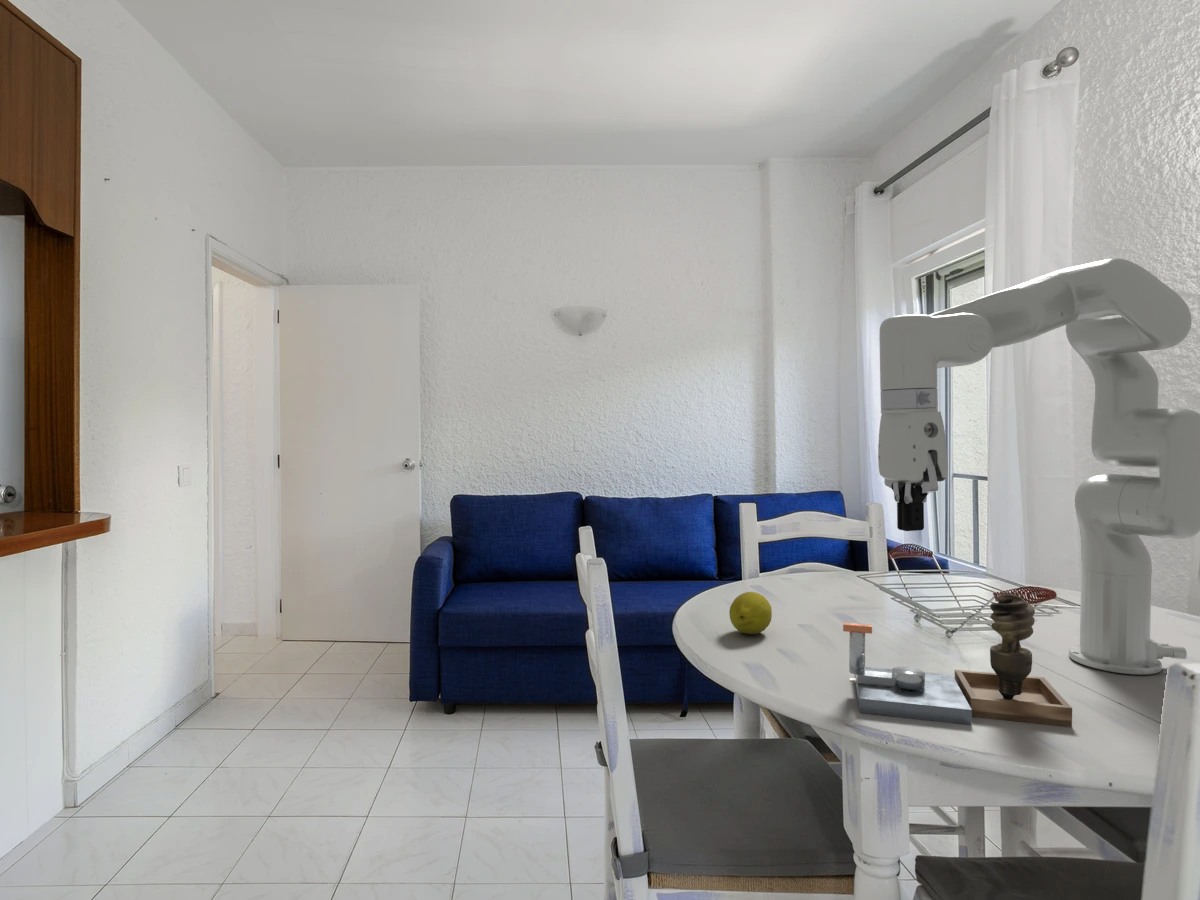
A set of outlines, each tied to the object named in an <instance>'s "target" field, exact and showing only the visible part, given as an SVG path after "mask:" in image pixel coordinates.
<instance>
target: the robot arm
mask: <svg viewBox="0 0 1200 900" xmlns="http://www.w3.org/2000/svg"><path fill="white" fill-rule="evenodd" d="M1064 326H1065V335H1066V338H1067V340H1068V343H1069V344H1070V346H1071V347H1072V349H1073V350H1075V351H1076V353H1077V354H1078V355H1079V356H1080V357H1081V359H1083V361H1084V362H1085V364H1086V365H1087V366H1088V368H1089V371H1090V372H1091V375H1092V378H1093V380H1094V403H1093V415H1092V424H1091V425H1092V427H1091V443H1090V444H1091V452H1092V454H1093V456H1094V458H1095V459H1096V461H1099V462H1100V463H1102V464H1105V465H1108V466H1109V465H1110V466H1116V467H1128V468H1131V467H1132V468H1147V469H1149V468H1150V469H1158V472H1159V473H1158V474H1159V475H1158V476H1144V475H1133V474H1115V473H1113V474H1112V473H1110V474H1108V473H1107V474H1105V473H1104V474H1099V475H1098V474H1097V475H1094V476H1091V477H1090V476H1089V477H1088V478H1087V479H1085V480H1083V481H1082V482H1081V483H1080V484H1079V486H1078V487H1077V489H1076V491H1075V495H1074V507H1075V514H1076V517H1077V522H1078V527H1079V534H1080V552H1081V553H1080V555H1081V558H1080V563H1081V564H1080V567H1081V568H1080V605H1079V606H1080V609H1079V610H1080V612H1079V614H1080V615H1079V616H1080V617H1079V618H1080V619H1079V620H1080V621H1079V644H1078V645H1073V646H1071V647H1069V649H1068V656H1069V658H1071V660H1073V661H1074V662H1076V663H1078V664H1081V665H1083V666H1086V667H1089V668H1092V669H1096V670H1100V671H1105V672H1110V673H1115V674H1116V673H1117V674H1124V675H1125V674H1126V675H1138V676H1140V675H1143V676H1144V675H1145V676H1147V675H1155V674H1158V673H1160V672H1161V671H1162V670H1163V667H1162V666H1163V664H1162V662H1161V661H1160V660H1163V659H1164V658H1171V659H1176V660H1177V659H1178V660H1179V659H1180V660H1185V659H1187V656H1188V653H1187V649H1186V648H1185V647H1184V646H1176V645H1175V646H1173V645H1169V643H1165V642H1164V643H1162V642H1158V641H1155V640H1153V639H1152V638H1151V614H1152V613H1151V611H1152V610H1151V609H1152V608H1151V607H1152V604H1151V603H1152V573H1153V572H1152V570H1153V569H1152V568H1153V567H1152V558H1151V556H1150V552H1149V550H1148V549H1147V547H1146V545H1145V544H1144V542H1143V540H1142V539H1141V537H1140V536H1146V537H1153V538H1159V539H1160V538H1162V539H1171V540H1185V539H1190V538H1192V537H1194V536H1196V535H1197V534H1198V533H1200V413H1199V412H1197V411H1195V410H1193V409H1188V408H1180V407H1179V408H1177V407H1176V408H1175V407H1174V408H1173V407H1171V408H1168V407H1167V408H1159V385H1160V384H1159V378H1158V375H1157V373H1156V371H1155V368H1153V366H1152V365H1151V363H1149V361H1148V360H1147V359H1146V358H1145V357H1144V356H1143V355H1142V354H1141V353H1140V352H1149V351H1159V350H1166V349H1169V348H1173V347H1175V346H1177V345H1178V344H1180V343H1182V342H1183V341H1184V340H1185V339H1186V338H1187V336H1188V335H1189V333H1190V330H1191V327H1192V315H1191V310H1190V308H1189V306H1188V305H1187V302H1186V301H1185V300H1184V299H1183V298H1182V297H1181V296H1180V295H1179V294H1178V293H1177V292H1176V291H1175V290H1173V288H1171V287H1170V286H1168V285H1167V284H1165V283H1164V282H1163V281H1162V280H1161V279H1159V278H1158V277H1156V276H1155V275H1154V274H1153V273H1152V272H1150V271H1148V270H1147V269H1146V268H1144V267H1142V266H1140V265H1139V264H1137V263H1135V262H1133V261H1130V260H1128V259H1125V258H1119V257H1113V258H1106V259H1103V260H1097V261H1093V262H1088V263H1085V264H1080V265H1075V266H1070V267H1065V268H1062V269H1058V270H1055V271H1053V272H1049V273H1047V274H1045V275H1040V276H1038V277H1036V278H1033V279H1030V280H1029V281H1025V282H1021V283H1020V284H1017V285H1014V286H1011V287H1009V288H1005V289H1003V290H1000V291H996V292H994V293H990V294H987V295H984V296H981V297H980V298H979V297H978V298H977V299H974V300H971V301H967V302H965V303H963V304H960V305H955V306H952V307H949V308H946V309H944V310H941V311H937V312H933V313H931V314H923V313H922V314H919V313H918V314H917V313H915V314H914V313H913V314H902V315H895V316H892V317H891V316H890V317H887V318H885V319H883V321H882V322H881V324H880V326H879V374H880V375H879V377H880V378H879V379H880V380H879V381H880V382H879V385H880V391H879V392H880V394H879V395H880V415H881V416H880V420H879V430H878V431H879V432H878V444H877V445H878V448H877V449H878V450H877V451H878V453H877V461H878V473H879V475H880V476H881V477H882V478H884V483H883V484H884V485H885V486H886V487H888V488H889V489H891V490H892V492H893V498H894V501H895V502H896V520H897V521H896V525H897V527H896V528H897V529H898V530H899V531H904V532H914V531H923V530H924V528H925V512H924V511H925V509H924V508H925V507H924V504H925V503H926V502H927V497H928V495H929V494H930V493H934V492H935V493H936V492H938V490H939V484H938V482H945V481H946V480H947V479H948V477H949V476H948V475H949V471H948V470H949V466H948V465H949V463H948V462H949V461H948V448H947V438H946V431H945V423H944V420H943V415H942V413H941V411H939V407H938V406H939V404H938V403H939V402H938V401H939V400H938V398H939V397H938V395H939V394H938V392H939V391H938V369H942V368H954V367H963V366H969V365H973V364H976V363H977V362H979V361H981V360H983V359H985V357H987V356H988V354H989V353H990V352H991V350H992V349H994V348H1001V347H1007V346H1010V345H1014V344H1019V343H1022V342H1026V341H1029V340H1032V339H1034V338H1037V337H1039V336H1041V335H1043V334H1046V333H1048V332H1051V331H1053V330H1055V329H1059V328H1061V327H1064Z"/></svg>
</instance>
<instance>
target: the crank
mask: <svg viewBox="0 0 1200 900" xmlns="http://www.w3.org/2000/svg"><path fill="white" fill-rule="evenodd" d="M842 631H843V632H846V633H847V632H848V633H849V637H848V638H849V643H848V645H849V646H848V647H849V649H848V650H849V651H848V652H849V657H848V658H849V659H848V661H849V664H848V665H849V666H848V672H849V673H850V674H853V675H854V674H856V675H857V682H866V683H876V684H886V685H895V686H898V687H900V688H904V689H912V690H917V689H923V688H924V687H925V673H924V672H925V671H923V670H921V669H918V668H916V667H912V666H895V667H893V668H891V669H892V673H887V672H877V671H866V670H865V667H866V634H873V625H872V624H865V623H854V622H852V623H851V622H842Z"/></svg>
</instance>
